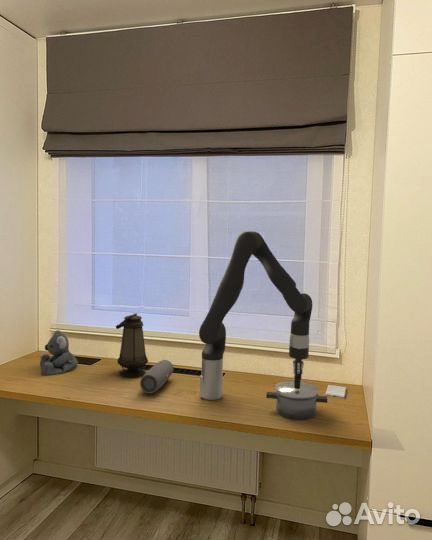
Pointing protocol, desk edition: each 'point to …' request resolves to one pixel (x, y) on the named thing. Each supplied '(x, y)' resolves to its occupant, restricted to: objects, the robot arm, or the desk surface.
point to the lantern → (132, 347)
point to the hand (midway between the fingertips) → (297, 388)
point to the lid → (296, 390)
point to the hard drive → (336, 391)
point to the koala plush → (57, 356)
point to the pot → (296, 406)
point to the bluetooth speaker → (156, 376)
